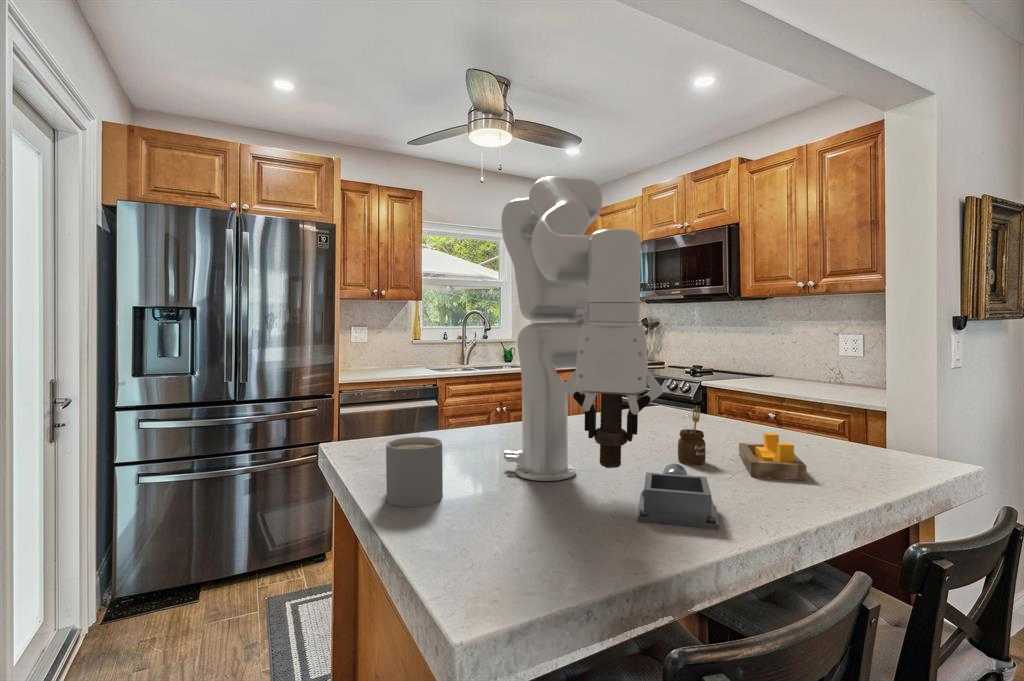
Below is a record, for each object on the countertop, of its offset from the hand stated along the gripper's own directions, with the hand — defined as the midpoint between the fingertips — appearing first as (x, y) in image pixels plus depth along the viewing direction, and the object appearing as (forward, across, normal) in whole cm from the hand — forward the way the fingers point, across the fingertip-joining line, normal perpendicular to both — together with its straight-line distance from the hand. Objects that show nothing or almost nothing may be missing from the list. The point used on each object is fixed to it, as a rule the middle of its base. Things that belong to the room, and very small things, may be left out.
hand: (610, 436), depth 75 cm
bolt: (+5, 0, 0) cm, 5 cm away
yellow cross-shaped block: (+16, +31, +45) cm, 56 cm away
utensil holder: (+16, +14, +44) cm, 49 cm away
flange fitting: (+15, +10, +14) cm, 22 cm away
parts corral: (+15, +30, +44) cm, 56 cm away
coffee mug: (+16, -36, +6) cm, 40 cm away
